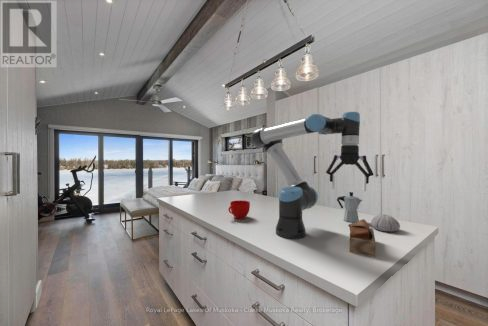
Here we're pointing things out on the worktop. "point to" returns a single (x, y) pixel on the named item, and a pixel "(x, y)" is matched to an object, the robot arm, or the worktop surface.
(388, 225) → the sea urchin shell
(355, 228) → the sunglasses case
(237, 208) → the ceramic cup
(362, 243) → the walnut block
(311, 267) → the worktop surface
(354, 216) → the coffee maker
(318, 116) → the robot arm
